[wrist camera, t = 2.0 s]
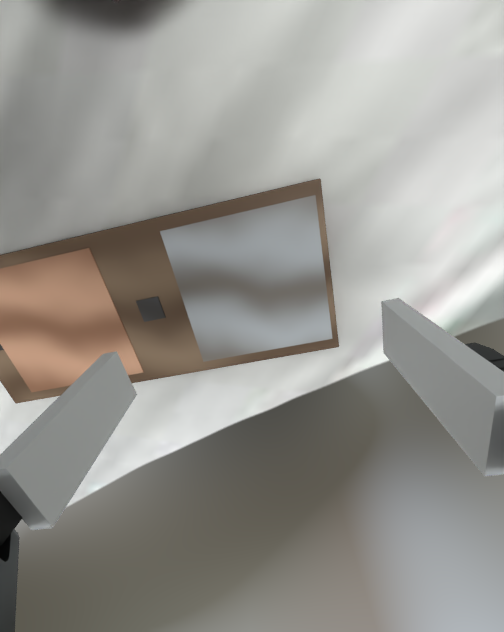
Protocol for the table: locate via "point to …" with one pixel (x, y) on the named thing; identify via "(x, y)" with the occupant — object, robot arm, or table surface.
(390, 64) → the table surface
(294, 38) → the table surface
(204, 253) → the board
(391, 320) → the robot arm
